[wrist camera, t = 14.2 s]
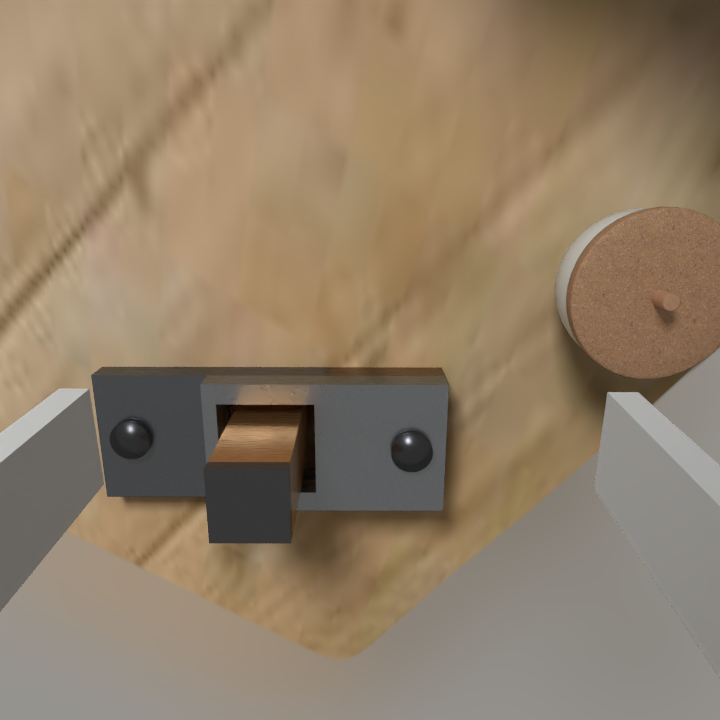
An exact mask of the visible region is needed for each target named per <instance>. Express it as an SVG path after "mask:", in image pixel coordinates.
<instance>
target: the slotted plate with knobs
mask: <svg viewBox="0 0 720 720" xmlns="http://www.w3.org/2000/svg"><path fill="white" fill-rule="evenodd" d="M91 377H92V384H93V392H94V400H95V407H96V415H97V422H98V430H99V437H100V445H101V452H102V460H103V467H104V475H105V482H106V490H107V497H206V496H205V484H204V471H203V469H204V467H205V466H206V464H207V462H208V460H209V458H210V456H211V454H212V452H213V450H214V449H215V447H216V445H217V443H218V441H219V439H220V437H221V435H222V434H223V432H224V430H225V428H226V426H227V424H228V422H229V420H230V416H229V404H236V405H314V415H315V463H316V468H305V470H304V475H303V481H302V486H301V491H300V497H299V502H298V507H297V510H316V511H443V499H444V478H445V457H446V436H447V415H448V394H449V384H448V382H447V379H446V377H445V375H444V372H443V370H442V368H315V367H102V368H100V369H99V370H98V371H96V372H95V373H94V374H92V375H91Z"/></svg>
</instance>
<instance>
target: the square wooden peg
mask: <svg viewBox="0 0 720 720" xmlns="http://www.w3.org/2000/svg"><path fill="white" fill-rule="evenodd" d="M306 459H307V435H306V405H237V407H236V409H235V411H234V413H233V415H232V417H231V418H230V420H229V422H228V424H227V426H226V428H225V430H224V432H223V434H222V435H221V437H220V439H219V441H218V443H217V445H216V447H215V449H214V450H213V452H212V454H211V456H210V458H209V460H208V462H207V464H206V466H205V467H204V469H203V471H204V484H205V496H206V508H207V521H208V533H209V543H291V539H292V534H293V529H294V523H295V518H296V513H297V507H298V502H299V497H300V491H301V486H302V481H303V475H304V470H305V465H306Z"/></svg>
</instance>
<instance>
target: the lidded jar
mask: <svg viewBox="0 0 720 720" xmlns="http://www.w3.org/2000/svg"><path fill="white" fill-rule="evenodd" d="M555 300H556V305H557V309H558V313H559V315H560V318H561V320H562V323H563V325H564V326H565V328H566V330H567V331H568V333H569V334H570V336H571V337H572V338H573V340H574V341H575V342H576V343H577V344H578V345H579V346H580V347H581V348H582V349H583V351H584V352H585V353H586V354H587V355H588V356H589V357H590V358H591V359H592V360H594V361H595V362H596V363H597V364H599V365H600V366H601V367H603V368H605V369H607V370H609V371H610V372H612V373H615V374H618V375H621V376H624V377H628V378H634V379H657V378H664V377H668V376H671V375H675V374H678V373H680V372H683V371H685V370H687V369H690V368H691V367H693V366H695V365H696V364H698V363H700V362H701V361H703V360H704V359H705V358H706V357H708V356H709V355H710V354H711V353H713V352H714V351H715V350H716V349H717V348H718V346H719V345H720V224H719V223H718V222H716V221H715V220H713V219H711V218H710V217H708V216H706V215H704V214H701V213H699V212H696V211H694V210H689V209H684V208H678V207H655V208H638V209H630V210H625V211H622V212H618V213H615V214H612V215H610V216H608V217H606V218H603V219H601V220H599V221H597V222H596V223H594V224H593V225H591V226H589V227H588V228H587V229H585V230H584V231H583V232H582V233H581V234H580V235H579V236H578V237H577V238H576V239H575V240H574V241H573V243H572V244H571V245H570V246H569V248H568V250H567V251H566V253H565V254H564V256H563V258H562V261H561V263H560V265H559V268H558V272H557V276H556V282H555Z"/></svg>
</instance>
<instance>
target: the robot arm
mask: <svg viewBox="0 0 720 720" xmlns="http://www.w3.org/2000/svg"><path fill="white" fill-rule="evenodd" d="M103 485H104V482H103V475H102V469H101V463H100V456H99V450H98V443H97V437H96V430H95V424H94V417H93V411H92V404H91V398H90V392H89V389H58V390H57V391H56V392H54V393H53V394H52V395H50V396H49V397H48V398H46V399H45V400H44V401H42V402H41V403H40V404H38V405H37V406H36V407H34V408H33V409H32V410H30V411H29V412H28V413H26V414H25V415H24V416H22V417H21V418H20V419H18V420H17V421H16V422H14V423H13V424H12V425H10V426H9V427H8V428H6V429H5V430H4V431H2V432H1V433H0V611H1V610H2V609H3V608H4V606H5V605H6V604H7V603H8V602H9V600H10V599H11V598H12V597H13V595H14V594H15V593H16V592H17V591H18V589H19V588H20V587H21V585H22V584H23V583H24V582H25V581H26V579H27V578H28V577H29V576H30V575H31V573H32V572H33V571H34V570H35V568H36V567H37V566H38V565H39V563H40V562H41V561H42V560H43V558H44V557H45V556H46V555H47V554H48V552H49V551H50V550H51V549H52V547H53V546H54V545H55V544H56V542H57V541H58V540H59V539H60V537H61V536H62V535H63V534H64V533H65V531H66V530H67V529H68V528H69V526H70V525H71V524H72V523H73V522H74V520H75V519H76V518H77V517H78V515H79V514H80V513H81V512H82V510H83V509H84V508H85V507H86V505H87V504H88V503H89V502H90V501H91V499H92V498H93V497H94V496H95V494H96V493H97V492H98V491H99V489H100V488H101V487H102V486H103ZM594 489H595V491H596V492H597V494H598V495H599V497H600V498H601V500H602V502H603V503H604V504H605V506H606V507H607V509H608V510H609V512H610V514H611V515H612V517H613V518H614V520H615V521H616V523H617V524H618V525H619V527H620V528H621V530H622V531H623V533H624V535H625V536H626V537H627V539H628V541H629V542H630V544H631V545H632V547H633V548H634V550H635V551H636V553H637V554H638V556H639V557H640V559H641V560H642V562H643V563H644V565H645V566H646V568H647V569H648V571H649V572H650V574H651V575H652V577H653V579H654V580H655V582H656V583H657V585H658V586H659V588H660V589H661V591H662V592H663V594H664V595H665V597H666V598H667V600H668V601H669V603H670V604H671V606H672V607H673V609H674V610H675V611H676V613H677V615H678V616H679V618H680V619H681V621H682V622H683V624H684V625H685V627H686V628H687V630H688V631H689V633H690V634H691V636H692V637H693V639H694V640H695V642H696V643H697V645H698V647H699V648H700V650H701V651H702V653H703V654H704V656H705V657H706V659H707V660H708V662H709V663H710V665H711V666H712V668H713V669H714V671H715V672H716V674H717V675H718V677H719V678H720V465H719V464H718V463H716V462H715V461H714V460H713V459H712V458H711V457H710V456H708V455H707V454H706V453H705V452H704V451H703V450H702V449H701V448H700V447H698V446H697V445H696V444H695V443H694V442H693V441H692V440H691V439H690V438H688V437H687V436H686V435H685V434H684V433H683V432H682V431H681V430H680V429H679V428H677V427H676V426H675V425H674V424H673V423H672V422H671V421H670V420H669V419H667V418H666V417H665V416H664V415H663V414H662V413H661V412H660V411H658V410H657V409H656V408H655V407H654V406H653V405H652V404H651V403H650V402H648V401H647V400H646V399H645V398H644V397H643V396H642V395H641V394H640V393H638V392H607V399H606V406H605V413H604V420H603V427H602V435H601V442H600V449H599V456H598V463H597V471H596V478H595V485H594Z"/></svg>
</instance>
